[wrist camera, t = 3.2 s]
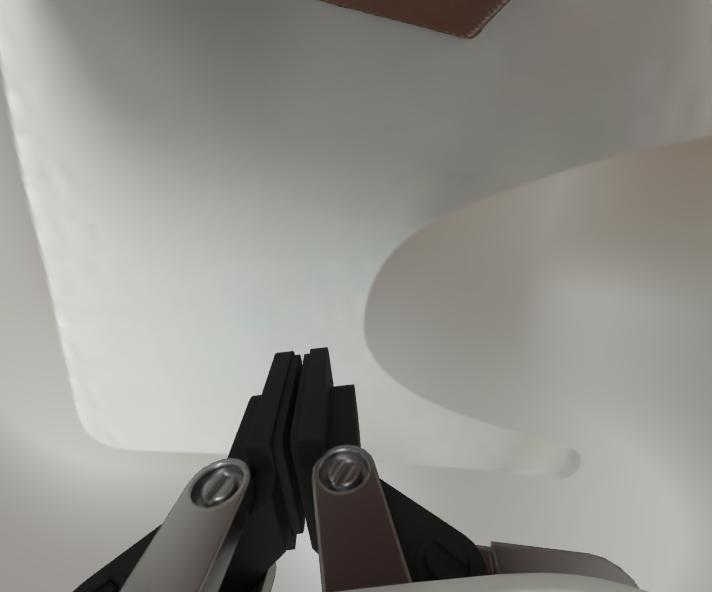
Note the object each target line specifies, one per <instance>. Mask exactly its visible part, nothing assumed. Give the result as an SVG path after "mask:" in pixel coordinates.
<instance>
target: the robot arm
mask: <svg viewBox="0 0 712 592" xmlns="http://www.w3.org/2000/svg"><path fill="white" fill-rule="evenodd" d="M305 518H306V522H307V527H308V531H309V535H310V540H311V544H312V548H313V549H314V550H315V551H316V552H317V553H318V554H319V563H320V573H321V584H322V592H647V591H644V590H641V589H639V588H638V586H637V584H636V583H635V581H634V580H633V579H632V578H631V577H630V576H629V575H627V574H626V573H625V572H624V571H623V570H622V569H621V568H620V567H618V566H617V565H615V564H613V563H612V562H610V561H608V560H607V559H605V558H603V557H599V556H596V555H592V554H589V553H580V552H572V551H565V550H557V549H549V548H540V547H532V546H523V545H516V544H508V543H500V542H491V547H487V546H479V545H475V544H474V543H473V542H472V541H471V540H470V539H468V538H467V537H466V536H465V535H464V534H462V533H461V532H459V531H458V530H456V529H455V528H453V527H452V526H450V525H449V524H447V523H446V522H444V521H443V520H441V519H440V518H438V517H437V516H435V515H434V514H432V513H431V512H429V511H428V510H426V509H425V508H423V507H422V506H420V505H419V504H417V503H416V502H414V501H413V500H411V499H410V498H408V497H406V496H405V495H404V494H402V493H401V492H399V491H398V490H396V489H395V488H393V487H392V486H390V485H389V484H387V483H386V482H384V481H383V480H381V479H380V478H379V476H378V473H377V469H376V467H375V463H374V461H373V459H372V457H371V455H370V454H369V453H368V452H367V451H366V450H364V449H362V448H361V444H360V433H359V422H358V412H357V404H356V395H355V387H354V384H353V385H345V386H336V387H334V385H333V379H332V372H331V365H330V358H329V352H328V348H327V347H325V348H316V349H311V350H310V354H305V355H304V360H303V365H302V360H301V356H300V355H295V354H294V352H293V351H290V352H281V353H276V354H275V356H274V359H273V362H272V365H271V368H270V371H269V374H268V377H267V380H266V383H265V386H264V389H263V392H262V395H257V396H252V397H251V398H250V400H249V403H248V405H247V408H246V411H245V413H244V416H243V419H242V421H241V424H240V427H239V429H238V432H237V434H236V437H235V440H234V442H233V445H232V448H231V450H230V453H229V456H228V458H227V459H222V460H219V461H216V462H213V463H211V464H210V465H208V466H206V467H204V468H203V469H202V470H200V471H199V472H198V473H197V474H196V475H195V476H194V477H193V478H192V479H191V481H190V482H189V483H188V484H187V486H186V488H185V489H184V491H183V492H182V494H181V496H180V497H179V499H178V500H177V502H176V503H175V505H174V506H173V508H172V510H171V511H170V513H169V514H168V516H167V517H166V519H165V521H164V522H163V524H161V525H160V526H159V527H157V528H156V529H155V530H153V531H152V532H150V533H149V534H148V535H146V536H145V537H144V538H142V539H141V540H140V541H138V542H137V543H136V544H134V545H133V546H132V547H130V548H129V549H128V550H126V551H125V552H124V553H122V554H121V555H119V556H118V557H117V558H115V559H114V560H113V561H111V562H110V563H109V564H107V565H106V566H105V567H103V568H102V569H101V570H99V571H98V572H97V573H95V574H94V575H93V576H91V577H90V578H88V579H87V580H86V581H85V582H83V583H82V584H81V585H80V586H79V587H78V588H76V589H75V590H74V591H73V592H271V589H272V586H273V582H274V578H275V573H276V561H277V560H278V559H279V558H280V557H281V556H282V555H283V554H284V553H285V552H286V550H292V549H295V545H296V535H297V534H300V533H303V531H304V524H305Z"/></svg>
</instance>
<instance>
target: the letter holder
mask: <svg viewBox="0 0 712 592" xmlns="http://www.w3.org/2000/svg"><path fill="white" fill-rule="evenodd" d="M321 1H325V2H328V3H332V4H335V5H337V6H340V7H345V8H351V9H355V10H360V11H363V12H365V13H369V14H374V15H376V16H381V17H385V18H389V19H392V20H397V21H401V22H405V23H408V24H413V25H417V26H420V27H425V28H429V29H433V30H436V31H439V32H443V33H446V34H451V35H454V36H457V37H460V38H469V39H471V38H473V37H475V36H477V35H478V34H479V33H480V32H481V31H482V29H483V27H484V26H485V25H486V24H487V23H488V22H489V21H490V20H491V19H492V18H493V17H494V16H495V15H496V14H497V13H498V12H499V11H500V10H501V9H502V8H503V7H504V6H505V5H506V4H507V3H508V2H509V1H510V0H321Z"/></svg>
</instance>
